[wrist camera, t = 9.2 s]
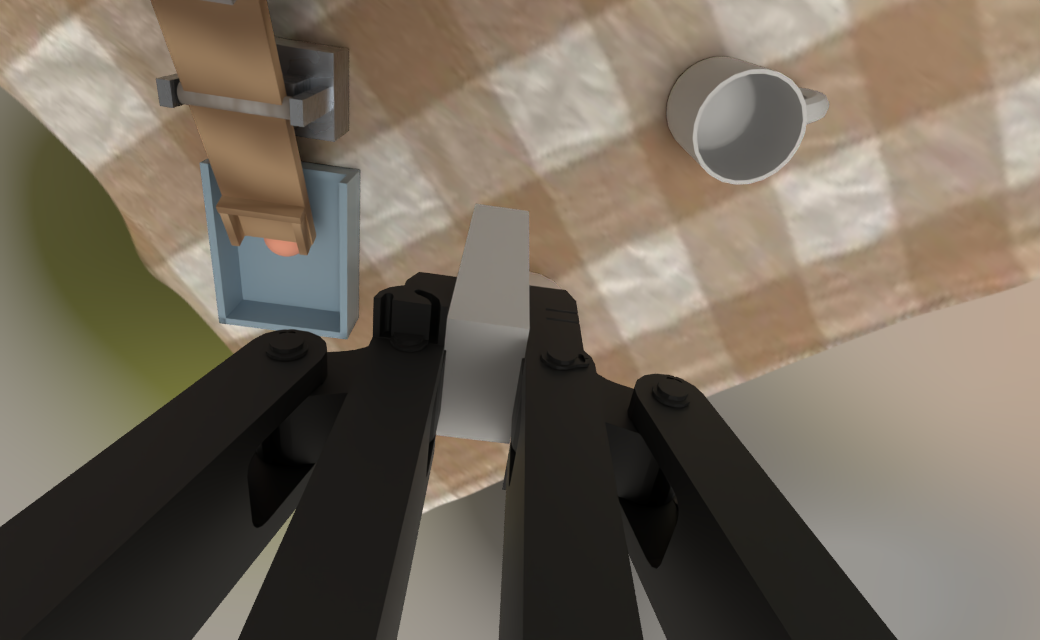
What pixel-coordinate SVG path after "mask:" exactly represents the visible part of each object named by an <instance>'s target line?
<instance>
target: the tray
mask: <svg viewBox="0 0 1040 640" xmlns="http://www.w3.org/2000/svg"><path fill="white" fill-rule="evenodd" d="M301 165H302V170H303V174H304V179H305V184H306V189H307V193H308V198H309V203H310V208H311V212H312V217H313V222H314V226H315V231H316V238H315V241H314V244H313V245H311V248H310V250H309V253H308V255H300V254H297V255H294V256H289V257H285V256H280V255H277V254H275V253H274V252H272V251H271V250H270V249H269V248H268V247H267V245H266V244H265V241H264V238H260V237H252V236H245V237H244V239H243V241H242V243H241V245H240V246H233V245H231V242H230V240H229V237H228V234H227V232H226V229H225V226H224V224H223V221H222V219H221V216H220V213H218V212H217V209H216V205H217V203H218V201H219V200H220V198H221V196H222V195H221V192H220V189H219V186H218V184H217V181H216V178H215V175H214V173H213V170H212V167H211V164H210V162H209V159H206V160H204V161H202V162H200V169H201V177H202V186H203V194H204V202H205V210H206V218H207V226H208V234H209V243H210V251H211V259H212V267H213V275H214V283H215V292H216V300H217V308H218V316H219V323H222V324H230V325H238V326H246V327H254V328H261V329H269V330H283V329H287V330H289V329H296V330H302V331H308V332H311V333H313V334H316V335H318V336H324V337H332V338H340V339H348V337H349V335H350V333H351V331H352V329H353V327H354V325H355V323H356V321H357V320H358V318H359V235H360V170H357V169H350V168H343V167H336V166H329V165H322V164H316V163H309V162H302V161H301Z"/></svg>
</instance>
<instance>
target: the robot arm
mask: <svg viewBox="0 0 1040 640" xmlns="http://www.w3.org/2000/svg"><path fill="white" fill-rule="evenodd" d="M577 314H578V311H577V305H576V301H575V300H574V299H573V297H572V296H571V295H570V294H569V293H568V292H567V291H566V290H561V289H553V288H546V287H539V286H531V285H529V211H524V210H517V209H510V208H503V207H496V206H489V205H482V204H475V208H474V212H473V216H472V220H471V224H470V228H469V232H468V236H467V240H466V244H465V248H464V252H463V256H462V260H461V264H460V268H459V272H458V276H457V277H453V276H445V275H438V274H430V273H423V272H419V273H417V274H416V275H414V276H412V277H411V278H409V279H408V280H407V281H406V283H405V285H402V286H395V287H389V288H387V289H384V290H382V291H380V292H379V293H378V294H377V295H376V296H375V297H374V308H373V337H372V340H371V342H370V344H369V346H367V347H365V348H361V349H357V350H350V351H340V352H327V347H326V342H325V341H324V340H323V339H322V338H321V337H320V336H318V335H316V334H313V333H311V332H308V331H302V330H296V329H289V330H287V329H283V330H277V331H273V332H269V333H265V334H263V335H261V336H259V337H257V338H255V339H253V340H252V341H251V342H249V343H248V344H247V345H245V346H244V347H242V348H241V349H240V350H238V351H237V352H236V353H234V354H233V355H232V356H231V357H229V358H228V359H226V360H225V361H224V362H222V363H221V364H220V365H218V366H217V367H216V368H214V369H213V370H211V371H210V372H209V373H207V374H206V375H205V376H203V377H202V378H201V379H199V380H198V381H197V382H195V383H194V384H193V385H191V386H190V387H188V388H187V389H186V390H185V391H183V392H182V393H180V394H179V395H178V396H176V397H175V398H174V399H173V400H171V401H170V402H168V403H167V404H166V405H164V406H163V407H162V408H160V409H159V410H157V411H156V412H155V413H153V414H152V415H151V416H149V417H148V418H147V419H145V420H144V421H143V422H141V423H140V424H139V425H137V426H136V427H134V428H133V429H132V430H131V431H129V432H128V433H126V434H125V435H124V436H122V437H121V438H120V439H118V440H117V441H116V442H114V443H113V444H112V445H110V446H109V447H108V448H106V449H105V450H104V451H102V452H101V453H99V454H98V455H97V456H96V457H94V458H93V459H92V460H90V461H89V462H87V463H86V464H85V465H83V466H82V467H81V468H79V469H78V470H77V471H75V472H74V473H72V474H71V475H70V476H68V477H67V478H66V479H64V480H63V481H62V482H60V483H59V484H58V485H56V486H55V487H54V488H52V489H51V490H50V491H48V492H47V493H45V494H44V495H43V496H41V497H40V498H39V499H37V500H36V501H35V502H33V503H32V504H31V505H29V506H28V507H27V508H25V509H24V510H22V511H21V512H20V513H18V514H17V515H16V516H14V517H13V518H12V519H10V520H9V521H8V522H6V523H5V524H4V525H2V526H1V527H0V640H192V638H193V637H194V636H195V635H196V633H197V632H198V631H199V630H200V628H201V627H202V626H203V625H204V623H205V622H206V621H207V620H208V618H209V617H210V616H211V615H212V613H213V612H214V611H215V610H216V608H217V607H218V606H219V605H220V603H221V602H222V601H223V600H224V598H225V597H226V596H227V595H228V593H229V592H230V591H231V589H232V588H233V587H234V585H235V584H236V583H237V582H238V581H239V579H240V578H241V577H242V576H243V574H244V573H245V572H246V571H247V569H248V568H249V567H250V565H251V564H252V563H253V562H254V561H255V559H256V558H257V557H258V556H259V554H260V553H261V552H262V551H263V549H264V548H265V547H266V546H267V544H268V543H269V542H270V541H271V539H272V538H273V537H274V536H275V534H276V533H277V532H278V531H279V529H280V528H281V527H282V525H283V524H284V523H285V522H286V520H287V519H288V518H289V517H290V515H291V514H292V513H293V511H294V510H295V509H296V510H295V513H294V515H293V517H292V520H291V522H290V524H289V526H288V528H287V531H286V533H285V535H284V537H283V540H282V542H281V544H280V546H279V548H278V551H277V553H276V555H275V557H274V560H273V562H272V564H271V567H270V569H269V571H268V573H267V575H266V578H265V580H264V582H263V584H262V587H261V589H260V591H259V594H258V596H257V598H256V600H255V602H254V605H253V607H252V609H251V611H250V614H249V616H248V618H247V620H246V623H245V625H244V627H243V629H242V632H241V634H240V636H239V639H238V640H397V635H398V630H399V625H400V620H401V615H402V610H403V605H404V600H405V595H406V590H407V585H408V580H409V575H410V570H411V565H412V560H413V555H414V550H415V545H416V540H417V535H418V529H419V525H420V520H421V515H422V510H423V505H424V500H425V495H426V490H427V485H428V480H429V475H430V470H431V465H432V460H433V455H434V448H435V437H436V435H440V436H449V437H457V438H466V439H474V440H482V441H491V442H499V443H508V444H509V443H510V438H511V443H510V449H509V454H508V460H507V466H506V471H505V477H504V483H503V488H502V489H503V490H506V500H505V521H504V541H503V542H504V543H503V561H502V562H503V563H502V582H501V603H500V624H499V640H643V635H642V630H641V623H640V618H639V612H638V606H637V601H636V595H635V589H634V584H633V578H632V572H631V566H630V561H629V556H630V558H631V561H632V563H633V565H634V567H635V569H636V572H637V573H638V576H639V578H640V581H641V583H642V585H643V587H644V589H645V592H646V594H647V596H648V598H649V601H650V603H651V605H652V607H653V609H654V612H655V613H656V616H657V618H658V621H659V623H660V625H661V627H662V630H663V632H664V634H665V636H666V638H667V640H897V638H896V637H895V636H894V634H893V633H892V632H891V631H890V630H889V628H888V627H887V626H886V624H885V623H884V622H883V621H882V619H881V618H880V617H879V616H878V614H877V613H876V612H875V611H874V609H873V608H872V607H871V605H870V604H869V603H868V602H867V600H866V599H865V598H864V597H863V595H862V594H861V593H860V591H859V590H858V589H857V588H856V586H855V585H854V584H853V583H852V582H851V580H850V579H849V578H848V576H847V575H846V574H845V573H844V571H843V570H842V569H841V568H840V566H839V565H838V564H837V562H836V561H835V560H834V559H833V557H832V556H831V555H830V554H829V552H828V551H827V550H826V549H825V547H824V546H823V545H822V544H821V542H820V541H819V540H818V538H817V537H816V536H815V535H814V533H813V532H812V531H811V530H810V528H809V527H808V526H807V525H806V524H805V522H804V521H803V519H802V518H801V517H800V516H799V514H798V513H797V512H796V511H795V509H794V508H793V507H792V506H791V504H790V503H789V502H788V501H787V499H786V498H785V497H784V495H783V494H782V493H781V492H780V490H779V489H778V488H777V487H776V485H775V484H774V483H773V482H772V480H771V479H770V478H769V477H768V475H767V474H766V473H765V472H764V470H763V469H762V468H761V466H760V465H759V464H758V463H757V461H756V460H755V459H754V458H753V456H752V455H751V454H750V453H749V451H748V450H747V449H746V447H745V446H744V445H743V444H742V443H741V441H740V440H739V439H738V437H737V436H736V435H735V434H734V432H733V431H732V430H731V429H730V427H729V426H728V425H727V424H726V422H725V421H724V420H723V418H722V417H721V416H720V415H719V413H718V412H717V411H716V410H715V408H714V407H713V406H712V404H711V403H710V402H709V401H708V400H707V398H706V397H705V396H704V394H703V393H702V392H700V391H699V390H698V389H697V388H696V387H695V386H694V385H692V384H690V383H688V382H686V381H684V380H683V379H681V378H678V377H674V376H671V375H664V374H650V375H644V376H643V377H641V378H640V379H638V380H637V382H636V384H635V387H634V389H632V388H629V387H626V386H623V385H620V384H617V383H615V382H612V381H610V380H607V379H605V378H604V377H602V376H600V375H598V374H597V373H596V367H595V364H594V362H593V360H592V358H591V356H589V355H588V354H587V353H586V352H585V351H584V350H583V343H582V337H581V330H580V324H579V318H578V315H577ZM628 554H629V555H628Z"/></svg>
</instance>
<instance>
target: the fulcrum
mask: <svg viewBox="0 0 1040 640" xmlns="http://www.w3.org/2000/svg"><path fill="white" fill-rule="evenodd" d="M274 38H275V42H276V47H277V52H278V57H279V61H280V66H281V71H282V75H283V80H284V85H285V90H286V94H287V96H289V97H292V98H289V102H290V123H291V125H293V127H294V132H295V136H299V137H306V138H312V139H319V140H326V141H333V142H335V141H336V140H337V139H339V138H340V137H341V136H343V135H344V134H345V133H346V132H348V131H349V49H348V48H341V47H335V46H329V45H322V44H316V43H309V42H303V41H297V40H290V39H284V38H277V37H274ZM179 82H180V79H179V77H178V74H173V75H169V76H164V77H160V78H156V83H157V89H158V96H159V103H160V106H164V107H171V108H174V107H177V106H180V105H183V104H182V103H181V102H180V101H179V99H178V96H177V86H178V83H179Z"/></svg>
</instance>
